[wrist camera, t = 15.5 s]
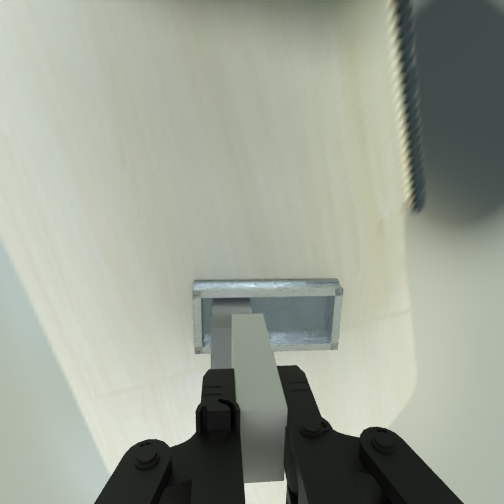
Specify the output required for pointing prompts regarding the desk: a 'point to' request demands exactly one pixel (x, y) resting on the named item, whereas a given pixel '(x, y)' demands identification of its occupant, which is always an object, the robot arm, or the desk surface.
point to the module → (225, 328)
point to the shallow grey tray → (277, 311)
